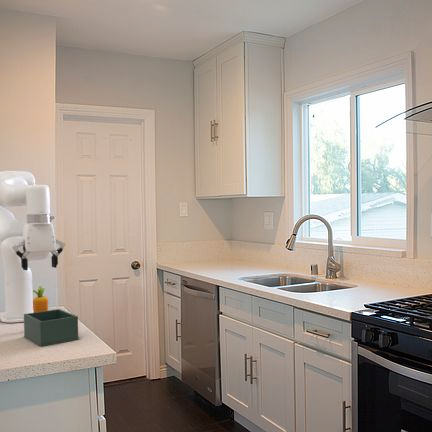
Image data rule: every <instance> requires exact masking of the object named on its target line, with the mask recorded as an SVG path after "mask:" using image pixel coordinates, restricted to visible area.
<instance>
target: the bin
mask: <svg viewBox="0 0 432 432" xmlns="http://www.w3.org/2000/svg"><path fill="white" fill-rule="evenodd" d="M23 331H24V334H23V336H24V338H25V339H27V340H29V341H31V342H33V343H34V344H35V345H38V346H39V347H45V346H51V345H57V344H61V343H68V342H73V341H78V340H79V316H77V315H76V314H74V313H70V312H68V311H66V310H63V309H61V308H56V309H50V310H49V309H48V311H42V312H35V313H34V312H33V313H28V314H24V322H23Z"/></svg>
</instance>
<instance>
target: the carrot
mask: <svg viewBox="0 0 432 432" xmlns="http://www.w3.org/2000/svg"><path fill="white" fill-rule="evenodd" d="M32 290H33V293H35V294H36V297H33V313H35V312H42V311H49V298H48V297H47V296H44V295H43V294H44V292H45V288H44V287H43V286H42V285H40V286H38V288H37V290H35V289H32Z"/></svg>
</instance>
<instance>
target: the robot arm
mask: <svg viewBox="0 0 432 432" xmlns="http://www.w3.org/2000/svg"><path fill="white" fill-rule="evenodd" d="M50 194H51V193H50V187H49V185H47V184H36V178H35V175H34V174H33V173H32V172H31V171H27V170H1V171H0V254H1V259H2V264H3V265H2V266H3V283H4V284H3V285H4V316H1V317H0V322H2V323H9V324H10V323H11V324H15V323H24V314H28V313H34V311H33V299H34V297H33V293H34V292H33V290H34V289H33V273H32V269H31V268H30V267H29V262H30V261H31V262H32V261H41V260H46V259H48V258H49V257H50V256H51V255H52V256H51V267H52V268H55V269H56V268H58V265H59V256H60V255H61V253H62V252H63V251H64V248H65V246H66V243H65V242H63V241H61V240H58V239H56V233H55V229H54V224H53V223H51V222H52V221H54V220H55V216H54V215H52V214H51V195H50ZM23 206H24V207H25V208H26V219H16V217H15V215H14V213H13V212H12V211H11V210H9V209H7V207H23ZM57 245H58V248H57V249H56V246H57Z"/></svg>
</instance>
